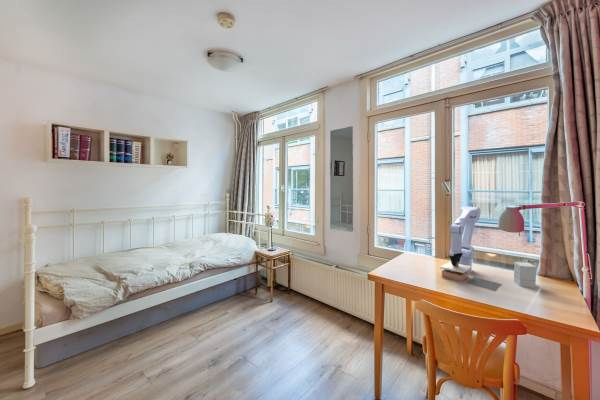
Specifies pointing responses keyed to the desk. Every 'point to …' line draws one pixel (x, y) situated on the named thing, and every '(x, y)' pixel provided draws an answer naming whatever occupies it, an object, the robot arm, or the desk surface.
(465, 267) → the lid
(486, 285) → the mat
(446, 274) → the dish
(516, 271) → the supplement box
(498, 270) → the desk surface
